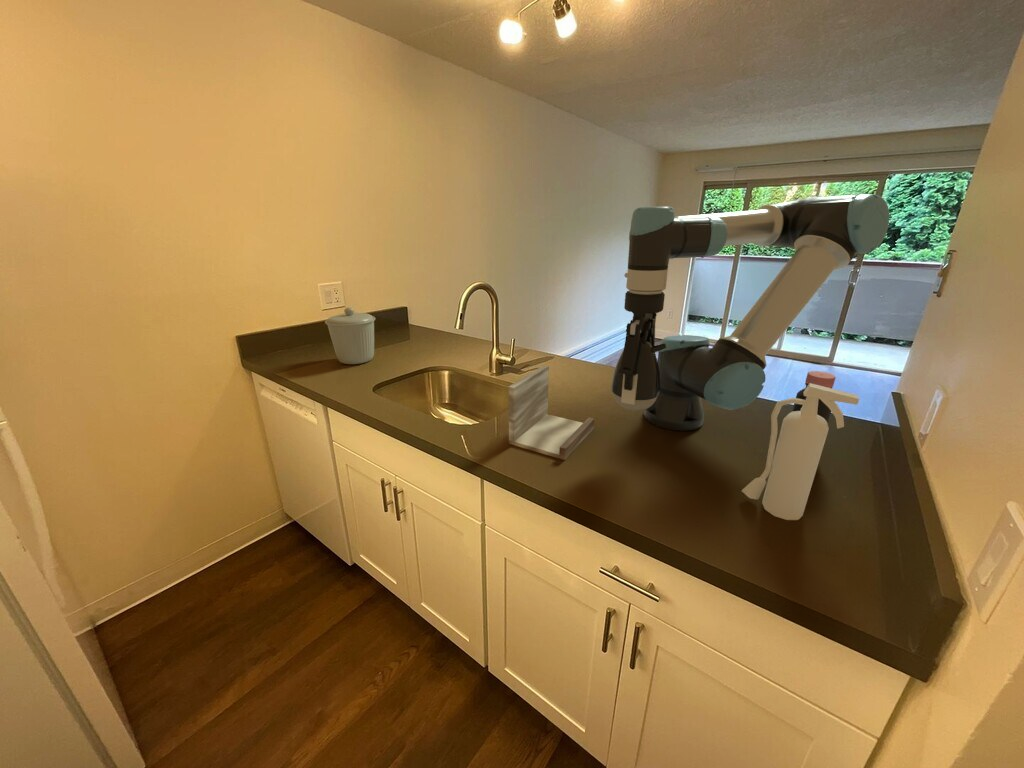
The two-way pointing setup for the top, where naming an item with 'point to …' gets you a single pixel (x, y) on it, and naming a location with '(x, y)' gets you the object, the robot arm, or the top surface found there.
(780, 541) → the top surface
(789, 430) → the fire extinguisher
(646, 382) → the pump dispenser
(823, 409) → the vinegar
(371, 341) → the canister
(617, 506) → the top surface
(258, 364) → the top surface
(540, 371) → the ledge rack
